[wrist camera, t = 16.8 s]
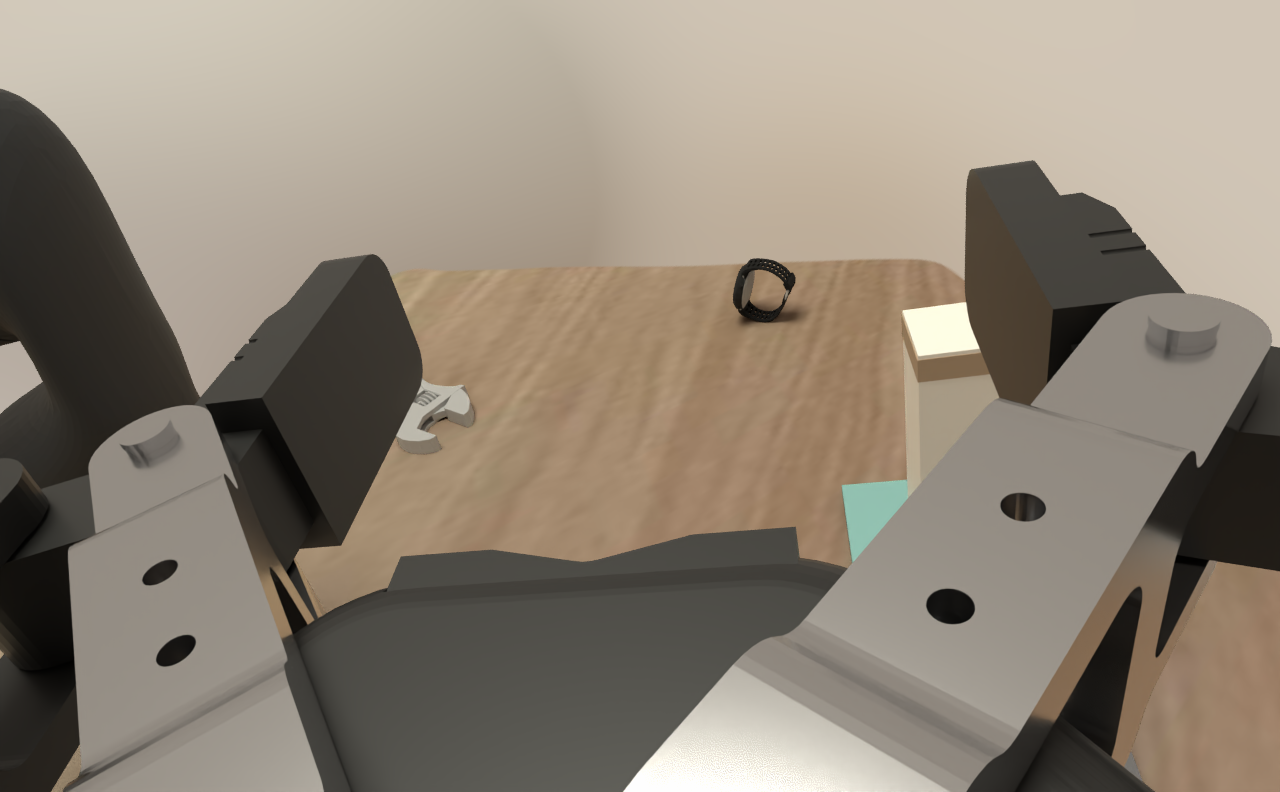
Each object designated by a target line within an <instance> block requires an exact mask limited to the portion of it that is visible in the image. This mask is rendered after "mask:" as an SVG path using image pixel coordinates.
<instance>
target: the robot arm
mask: <svg viewBox="0 0 1280 792" xmlns="http://www.w3.org/2000/svg"><path fill="white" fill-rule="evenodd" d="M965 296H966V305H967V312H968V317H969V322H970V325H971V328H972V331H973V334H974V336H975V339H976V341H977V343H978V346H979V348H980V351H981V353H982V356H983V358H984V361H985V363H986V366H987V368H988V371H989V373H990V376H991V378H992V381H993V383H994V386H995V388H996V391H997V393H998V396H999V398H998V399H995V400H994V401H992V402H991V403H990V404H989V405H988V406H987V407H986V408H985V409H984V410H983V411H982V412H981V413H980V414H979V416H978V417H977V418H976V419H975V420H974V421H973V423H972V424H971V425H970V426H969V427H968V428H967V430H966V431H965V432H964V433H963V434H962V435H961V437H960V438H959V439H958V440H957V441H956V443H955V444H954V445H953V446H952V447H951V448H950V450H949V451H948V452H947V453H946V454H945V455H944V457H943V458H942V459H941V460H940V461H939V462H938V464H937V465H936V466H935V467H934V468H933V469H932V471H931V472H930V473H929V474H928V475H927V476H926V478H925V479H924V480H923V481H922V482H921V483H920V485H919V486H918V487H917V488H916V489H915V491H914V492H913V493H912V494H911V495H910V496H909V498H908V499H907V500H906V501H905V502H904V503H903V505H902V506H901V507H900V508H899V509H898V510H897V512H896V513H895V514H894V515H893V516H892V517H891V519H890V520H889V521H888V522H887V523H886V524H885V526H884V527H883V528H882V529H881V530H880V531H879V533H878V534H877V535H876V536H875V537H874V539H873V540H872V541H871V542H870V543H869V544H868V546H867V547H866V548H865V549H864V550H863V551H862V553H861V554H860V555H859V556H858V557H857V558H856V560H855V561H854V562H853V563H852V564H851V565H850V567H849V568H845V567H842V566H838V565H834V564H830V563H825V562H821V561H817V560H810V559H804V558H800V557H799V549H798V541H797V534H796V527H788V528H775V529H761V530H748V531H735V532H721V533H708V534H695V535H689V536H686V537H682V538H678V539H674V540H670V541H667V542H663V543H659V544H655V545H652V546H648V547H644V548H640V549H636V550H633V551H629V552H625V553H621V554H618V555H614V556H610V557H606V558H602V559H599V560H594V561H588V562H577V561H569V560H562V559H555V558H548V557H540V556H533V555H526V554H519V553H511V552H504V551H497V550H482V551H469V552H456V553H443V554H429V555H416V556H403V557H401V558H400V560H399V562H398V565H397V567H396V570H395V572H394V574H393V577H392V579H391V582H390V584H389V586H388V588H385V589H382V590H379V591H376V592H373V593H370V594H368V595H365V596H362V597H360V598H357V599H355V600H353V601H350V602H348V603H346V604H344V605H342V606H340V607H337V608H335V609H333V610H332V611H330V612H328V613H326V612H325V611H324V609H323V607H322V605H321V604H320V601H319V600H318V598H317V596H316V594H315V593H314V591H313V589H312V588H311V586H310V584H309V582H308V581H307V579H306V577H305V575H304V573H303V571H302V570H301V568H300V566H299V565H298V563H297V561H296V559H295V556H296V554H297V552H298V551H299V549H303V548H315V547H328V546H341V545H342V543H343V541H344V539H345V537H346V535H347V533H348V531H349V529H350V527H351V525H352V523H353V521H354V519H355V517H356V515H357V513H358V511H359V509H360V507H361V505H362V503H363V501H364V499H365V497H366V495H367V493H368V491H369V489H370V487H371V485H372V483H373V481H374V479H375V477H376V475H377V473H378V471H379V469H380V467H381V465H382V463H383V461H384V459H385V457H386V455H387V453H388V451H389V449H390V447H391V445H392V443H393V441H394V439H395V437H396V435H397V433H398V431H399V429H400V427H401V425H402V423H403V421H404V419H405V417H406V415H407V413H408V411H409V409H410V407H411V405H412V403H413V401H414V399H415V397H416V395H417V393H418V391H419V389H420V386H421V382H422V373H423V369H422V359H421V354H420V350H419V347H418V344H417V341H416V339H415V336H414V334H413V331H412V329H411V326H410V324H409V321H408V319H407V316H406V314H405V311H404V308H403V306H402V303H401V301H400V298H399V296H398V293H397V291H396V288H395V286H394V283H393V281H392V278H391V276H390V273H389V271H388V269H387V267H386V265H385V264H384V262H383V261H382V260H381V259H380V258H379V257H378V256H376V255H373V254H372V255H363V256H357V257H350V258H343V259H335V260H329V261H324V262H322V263H320V264H319V265H318V267H317V268H316V269H315V270H314V272H313V273H312V274H311V275H310V277H309V278H308V279H307V280H306V281H305V283H304V284H303V285H302V286H301V287H300V289H299V290H298V291H297V292H296V293H295V295H294V296H293V297H292V298H291V300H290V301H289V302H288V303H287V304H286V305H285V306H284V307H282V308H281V309H280V310H278V311H277V312H275V313H274V314H272V315H271V316H269V317H268V318H267V319H266V320H265V321H264V322H263V323H262V325H261V326H260V327H259V328H258V329H257V330H256V332H255V333H254V334H253V335H252V336H251V338H250V339H249V344H245V345H244V346H243V347H242V348H241V350H240V351H239V352H238V353H237V354H236V356H235V357H234V358H235V361H231V362H230V363H229V364H228V365H227V366H226V368H225V369H224V370H223V371H222V372H221V374H220V375H219V376H218V377H217V378H216V380H215V381H214V382H213V383H212V384H211V386H210V387H209V388H208V389H207V390H206V392H205V393H204V394H203V395H202V397H201V398H200V397H199V395H198V393H197V391H196V389H195V387H194V384H193V382H192V379H191V376H190V374H189V371H188V368H187V365H186V362H185V360H184V357H183V354H182V352H181V349H180V346H179V344H178V342H177V339H176V337H175V335H174V333H173V331H172V329H171V327H170V325H169V323H168V322H167V320H166V318H165V316H164V314H163V312H162V310H161V309H160V307H159V305H158V303H157V301H156V299H155V298H154V296H153V294H152V292H151V290H150V288H149V286H148V284H147V282H146V280H145V278H144V276H143V274H142V272H141V270H140V268H139V266H138V264H137V262H136V260H135V258H134V256H133V254H132V252H131V250H130V248H129V246H128V244H127V242H126V240H125V238H124V236H123V234H122V232H121V230H120V228H119V226H118V224H117V222H116V219H115V218H114V216H113V213H112V211H111V209H110V207H109V205H108V203H107V202H106V200H105V198H104V196H103V194H102V192H101V190H100V188H99V186H98V185H97V183H96V181H95V179H94V177H93V175H92V174H91V172H90V171H89V169H88V168H87V166H86V164H85V163H84V161H83V160H82V158H81V156H80V155H79V153H78V152H77V150H76V149H75V147H73V145H72V144H71V142H70V141H69V140H68V139H67V137H66V136H65V135H64V134H63V133H62V131H61V130H60V129H59V128H58V127H57V125H56V124H54V123H53V122H52V121H51V120H50V119H49V118H48V117H47V116H46V115H45V114H44V113H43V112H42V111H41V110H39V109H38V108H37V107H35V106H34V105H32V104H31V103H30V102H28V101H26V100H25V99H24V98H22V97H20V96H18V95H16V94H13V93H11V92H9V91H6V90H3V89H0V346H2V345H5V344H9V343H13V342H17V341H20V342H21V343H22V345H23V347H24V348H25V350H26V351H27V353H28V355H29V357H30V358H31V360H32V361H33V363H34V365H35V367H36V369H37V371H38V373H39V375H40V377H41V379H42V381H43V382H42V383H41V384H39V385H38V386H36V387H35V388H34V389H32V390H31V391H29V392H28V393H27V394H25V395H24V396H22V397H21V398H19V399H18V400H17V401H15V402H14V403H13V404H11V405H10V406H9V407H8V408H7V409H5V410H4V411H3V412H2V413H1V414H0V650H1V651H2V652H3V653H4V655H3V656H2V658H1V659H0V792H51V791H52V789H53V787H54V786H55V784H56V782H57V781H58V779H59V777H60V776H61V774H62V772H63V771H64V769H65V768H66V766H67V764H68V763H69V761H70V759H71V758H72V756H73V754H74V753H75V751H76V749H77V748H78V746H79V744H80V752H81V770H80V774H79V776H78V778H77V779H75V780H73V781H71V782H70V783H68V784H67V785H66V787H65V788H64V790H63V792H1155V791H1153V790H1152V789H1151V788H1150V787H1148V786H1147V785H1146V784H1144V783H1143V782H1142V781H1141V780H1139V779H1138V778H1137V777H1136V776H1134V775H1133V774H1132V773H1131V772H1129V771H1128V770H1127V769H1126V768H1124V766H1125V764H1126V761H1127V759H1128V757H1129V754H1130V752H1131V749H1132V747H1133V744H1134V741H1135V739H1136V736H1137V733H1138V730H1139V727H1140V724H1141V721H1142V718H1143V715H1144V712H1145V709H1146V706H1147V704H1148V701H1149V699H1150V696H1151V694H1152V692H1153V689H1154V687H1155V685H1156V683H1157V681H1158V679H1159V677H1160V675H1161V673H1162V671H1163V669H1164V667H1165V665H1166V663H1167V661H1168V659H1169V657H1170V655H1171V653H1172V651H1173V649H1174V647H1175V645H1176V643H1177V641H1178V639H1179V638H1180V636H1181V634H1182V632H1183V630H1184V628H1185V626H1186V624H1187V622H1188V620H1189V618H1190V616H1191V614H1192V612H1193V610H1194V608H1195V606H1196V604H1197V602H1198V600H1199V598H1200V596H1201V594H1202V592H1203V590H1204V588H1205V586H1206V584H1207V582H1208V580H1209V578H1210V576H1211V574H1212V572H1213V570H1214V568H1215V566H1216V563H1217V561H1218V562H1225V563H1231V564H1237V565H1244V566H1250V567H1256V568H1263V569H1269V570H1275V571H1280V348H1278V347H1273V346H1271V343H1272V336H1271V332H1270V330H1269V327H1268V326H1267V325H1266V324H1265V322H1264V321H1263V320H1262V319H1261V318H1259V317H1258V316H1257V315H1255V314H1254V313H1252V312H1251V311H1249V310H1247V309H1245V308H1243V307H1241V306H1239V305H1236V304H1234V303H1231V302H1228V301H1225V300H1222V299H1218V298H1213V297H1209V296H1202V295H1196V294H1186V293H1185V292H1184V291H1183V290H1182V288H1181V287H1180V286H1179V285H1178V283H1177V282H1176V281H1175V280H1174V279H1173V277H1172V276H1171V275H1170V274H1169V273H1168V272H1167V270H1166V269H1165V268H1164V267H1163V266H1162V264H1161V263H1160V262H1159V260H1157V258H1156V257H1155V256H1154V254H1153V253H1152V252H1151V251H1150V250H1146V245H1145V244H1144V242H1143V241H1142V240H1141V239H1140V237H1139V236H1138V235H1137V234H1136V233H1132V228H1131V227H1130V225H1129V224H1128V223H1127V222H1126V221H1125V219H1124V218H1123V217H1122V216H1121V214H1120V213H1119V212H1118V211H1117V210H1116V208H1114V207H1112V206H1110V205H1108V204H1106V203H1103V202H1101V201H1099V200H1097V199H1095V198H1093V197H1090V196H1088V195H1086V194H1084V193H1076V194H1069V195H1062V196H1060V195H1059V194H1058V192H1057V191H1056V190H1055V188H1054V187H1053V185H1052V184H1051V183H1050V181H1049V180H1048V178H1047V177H1046V176H1045V174H1044V173H1043V171H1042V170H1041V169H1040V167H1039V166H1038V165H1037V163H1036V162H1035V161H1033V160H1032V161H1025V162H1019V163H1012V164H1005V165H998V166H991V167H984V168H977V169H971V170H970V172H969V175H968V179H967V188H966V241H965Z"/></svg>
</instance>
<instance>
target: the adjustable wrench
mask: <svg viewBox="0 0 1280 792" xmlns="http://www.w3.org/2000/svg"><path fill="white" fill-rule="evenodd" d="M444 417H448V419H449V421H452V422H454V423H457V424H460V425H463V426H465V427H470V426H471V425H472V424H473V422H474V411H473V408H472V405H471V403H470V400H469V396H468V393H467V391H466V388H465V385H458V386H439V385H433V384H430V383H428V382H426V381H425V380H424V379H422V382H421V386H420V389H419V391H418V393H417V395H416V397H415V399H414V401H413V403H412V405H411V407H410V409H409V411H408V413H407V415H406V417H405V419H404V421H403V423H402V425H401V427H400V429H399V431H398V433H397V435H396V438H397V440H398V442H399V445H400V447H401V448H402V449H404V450H405V451H407V452H409V453H414V454H428V453H434V452H437V451H439V450H441V449H442V448H441V446H440V444H439V441H438V439H437V436H436V435H433V434H430V433H428V432H427V430H428V428H430V427H431V426H433V425H434V424H435V423H436V422H438V421H439V420H440V419H442V418H444Z"/></svg>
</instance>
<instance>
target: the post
mask: <svg viewBox="0 0 1280 792" xmlns="http://www.w3.org/2000/svg"><path fill="white" fill-rule="evenodd" d="M902 312H903V314H901V320H902V337H903V347H904V382H905V417H906V452H907V487H908V498H909V496H910V495H911V494H912V493H913V492H914V491H915V489H916V488H917V487H918V486H919V485H920V483H921V482H922V481H923V480H924V479H925V478H926V476H927V475H928V474H929V473H930V472H931V471H932V469H933V468H934V467H935V466H936V465H937V464H938V462H939V461H940V460H941V459H942V458H943V457H944V455H945V454H946V453H947V452H948V451H949V450H950V448H951V447H952V446H953V445H954V444H955V443H956V441H957V440H958V439H959V438H960V437H961V435H962V434H963V433H964V432H965V431H966V430H967V428H968V427H969V426H970V425H971V424H972V423H973V421H974V420H975V419H976V418H977V417H978V416H979V414H980V413H981V412H982V411H983V410H984V409H985V408H986V407H987V406H988V405H989V404H990V403H991V402H992V401H994V400H995V399H998V398H999V396H998V393H997V391H996V388H995V386H994V383H993V381H992V378H991V376H990V373H989V371H988V368H987V366H986V363H985V361H984V358H983V356H982V353H981V351H980V348H979V346H978V343H977V341H976V339H975V336H974V334H973V331H972V328H971V325H970V322H969V317H968V312H967V305H966V302H965V303H957V304H949V305H942V306H934V307H926V308H919V309H911V310H903V311H902Z"/></svg>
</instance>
